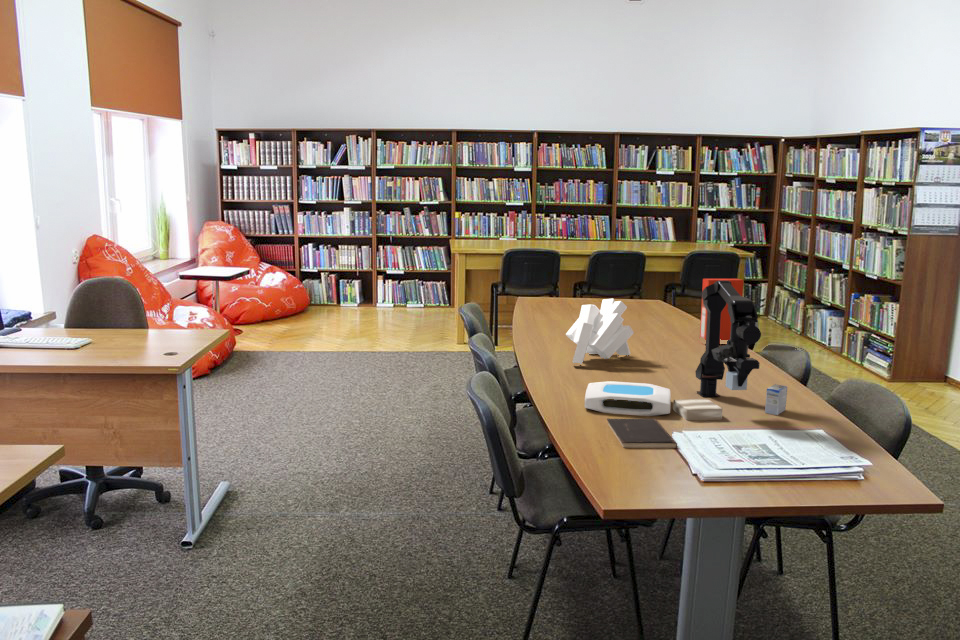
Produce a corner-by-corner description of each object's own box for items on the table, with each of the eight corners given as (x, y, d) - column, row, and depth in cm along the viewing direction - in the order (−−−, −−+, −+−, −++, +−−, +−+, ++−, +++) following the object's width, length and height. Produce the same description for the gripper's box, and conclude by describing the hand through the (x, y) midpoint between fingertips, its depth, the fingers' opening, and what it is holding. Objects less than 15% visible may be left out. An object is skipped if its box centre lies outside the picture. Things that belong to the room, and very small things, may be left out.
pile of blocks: (620, 385, 313) (656, 308, 315) (554, 353, 317) (590, 278, 319) (614, 387, 347) (646, 318, 349) (555, 359, 352) (587, 291, 354)
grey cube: (725, 386, 253) (726, 371, 252) (739, 386, 253) (740, 371, 252) (732, 390, 248) (733, 375, 247) (746, 389, 248) (747, 375, 247)
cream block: (673, 411, 258) (673, 399, 257) (706, 410, 259) (707, 398, 259) (686, 421, 246) (686, 409, 245) (721, 420, 247) (722, 408, 247)
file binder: (699, 342, 379) (702, 278, 374) (732, 341, 380) (736, 278, 375) (705, 345, 371) (709, 280, 366) (739, 345, 372) (743, 280, 367)
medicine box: (772, 408, 261) (774, 383, 260) (785, 410, 258) (787, 386, 257) (764, 413, 255) (766, 388, 254) (778, 415, 252) (780, 390, 251)
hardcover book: (621, 449, 219) (622, 442, 218) (606, 425, 241) (606, 418, 241) (677, 449, 219) (677, 442, 219) (656, 425, 242) (656, 418, 241)
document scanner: (669, 418, 249) (670, 399, 248) (584, 412, 255) (584, 394, 254) (668, 401, 269) (669, 384, 268) (589, 396, 275) (590, 379, 274)
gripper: (704, 333, 256) (701, 378, 258) (728, 343, 238) (725, 392, 240) (735, 332, 257) (732, 377, 260) (761, 343, 239) (758, 391, 241)
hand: (736, 384), depth 250 cm, fingers closed on grey cube, 5 cm apart
